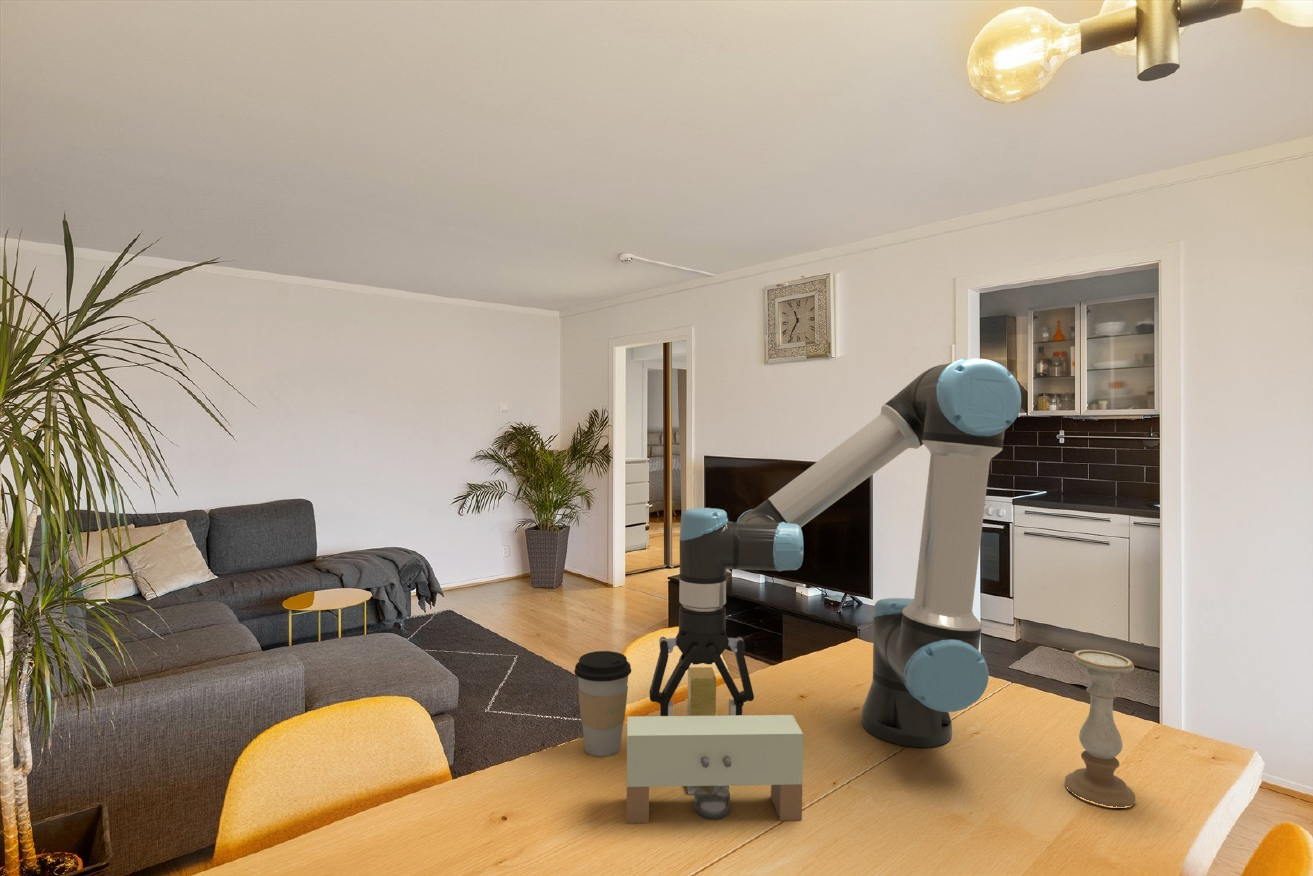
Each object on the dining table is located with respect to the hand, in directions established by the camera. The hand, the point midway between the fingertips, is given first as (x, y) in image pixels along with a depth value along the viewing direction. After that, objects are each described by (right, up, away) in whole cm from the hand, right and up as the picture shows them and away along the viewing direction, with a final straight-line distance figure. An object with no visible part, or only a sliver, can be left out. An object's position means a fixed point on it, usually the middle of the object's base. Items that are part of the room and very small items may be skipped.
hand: (700, 742), depth 111 cm
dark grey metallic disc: (+1, -3, -14) cm, 15 cm away
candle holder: (+58, -4, -9) cm, 59 cm away
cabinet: (+1, -3, -14) cm, 15 cm away
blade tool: (0, -3, -4) cm, 5 cm away
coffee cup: (-16, -3, +3) cm, 17 cm away
